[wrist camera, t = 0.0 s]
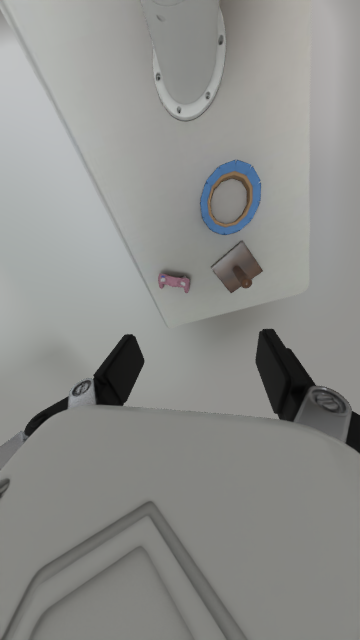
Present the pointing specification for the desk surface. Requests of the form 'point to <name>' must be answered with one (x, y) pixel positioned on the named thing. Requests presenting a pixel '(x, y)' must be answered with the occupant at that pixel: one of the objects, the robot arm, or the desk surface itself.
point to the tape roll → (249, 181)
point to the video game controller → (174, 281)
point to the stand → (237, 268)
